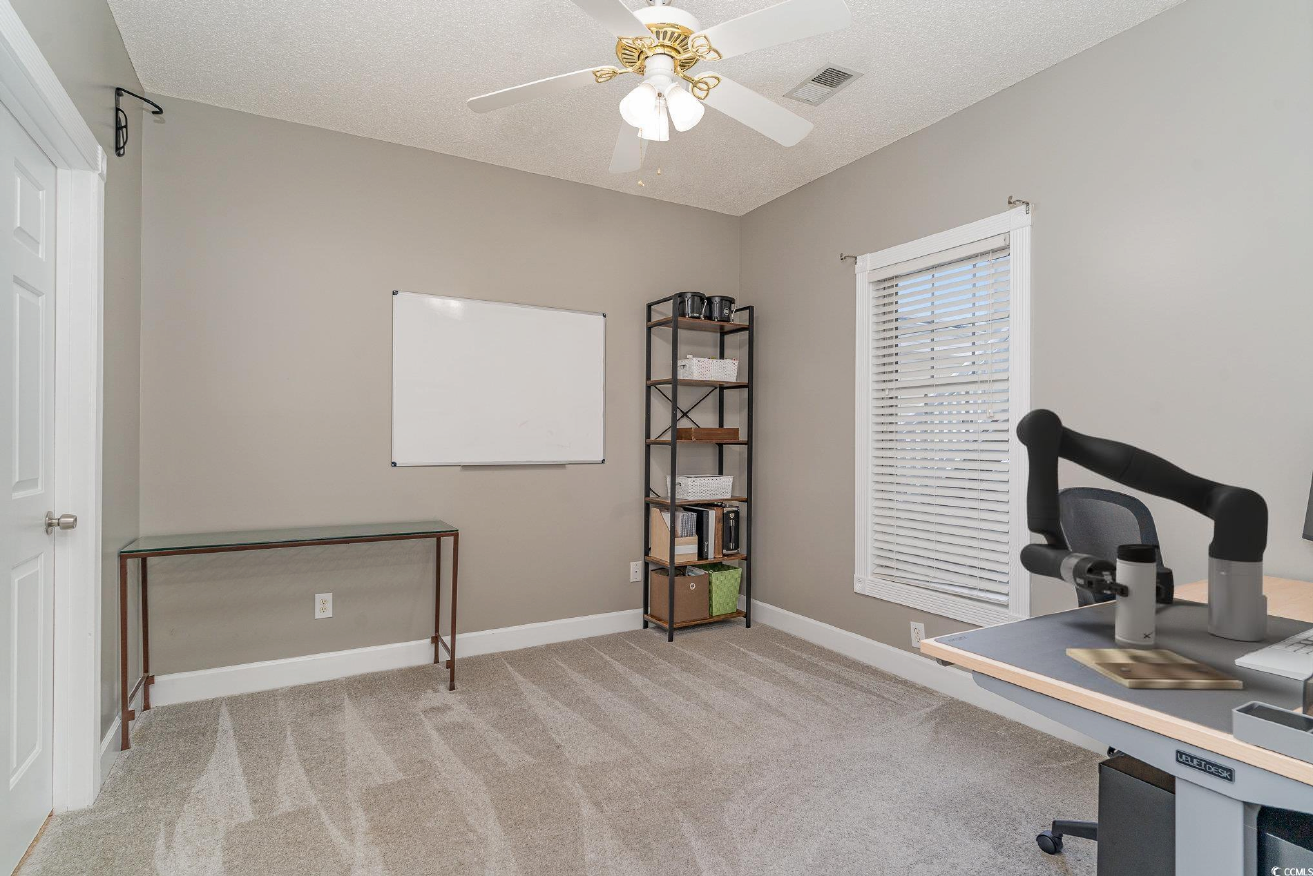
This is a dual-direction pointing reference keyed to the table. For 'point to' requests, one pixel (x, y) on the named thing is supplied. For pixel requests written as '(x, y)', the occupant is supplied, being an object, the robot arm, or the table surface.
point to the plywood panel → (1153, 669)
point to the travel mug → (1136, 596)
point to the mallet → (1165, 584)
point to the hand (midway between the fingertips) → (1144, 592)
